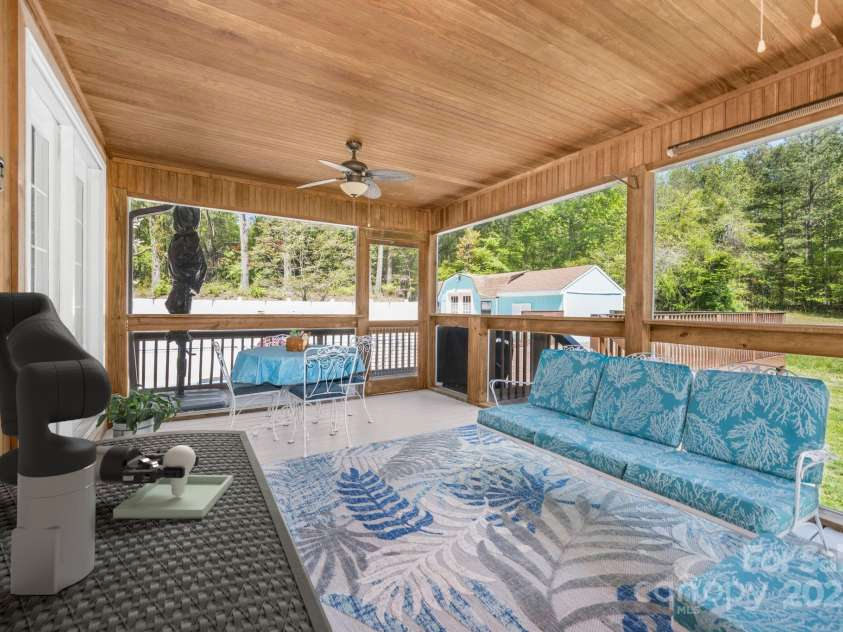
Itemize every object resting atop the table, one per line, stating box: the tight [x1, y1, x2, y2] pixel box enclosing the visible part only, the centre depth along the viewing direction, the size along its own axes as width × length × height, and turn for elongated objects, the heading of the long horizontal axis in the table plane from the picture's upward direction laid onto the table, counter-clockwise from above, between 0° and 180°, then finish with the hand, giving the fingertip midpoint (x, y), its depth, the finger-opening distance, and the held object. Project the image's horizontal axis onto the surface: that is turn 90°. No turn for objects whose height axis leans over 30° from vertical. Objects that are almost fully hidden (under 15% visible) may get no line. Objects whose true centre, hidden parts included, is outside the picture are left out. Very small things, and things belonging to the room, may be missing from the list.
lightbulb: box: [163, 444, 196, 497], centre depth 93 cm, size 6×6×11 cm
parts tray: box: [112, 474, 234, 520], centre depth 93 cm, size 17×17×2 cm
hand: (191, 466), depth 93 cm, fingers closed on lightbulb, 6 cm apart
